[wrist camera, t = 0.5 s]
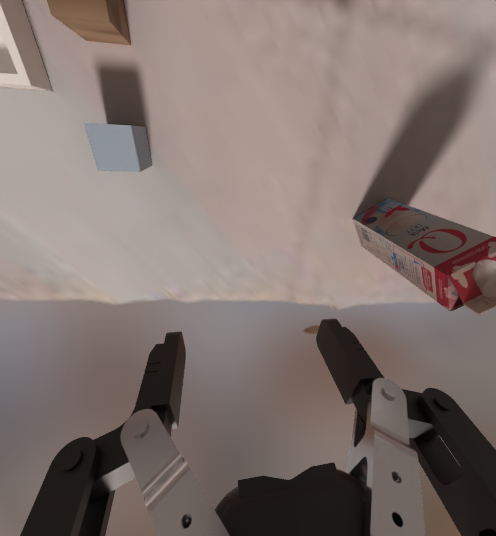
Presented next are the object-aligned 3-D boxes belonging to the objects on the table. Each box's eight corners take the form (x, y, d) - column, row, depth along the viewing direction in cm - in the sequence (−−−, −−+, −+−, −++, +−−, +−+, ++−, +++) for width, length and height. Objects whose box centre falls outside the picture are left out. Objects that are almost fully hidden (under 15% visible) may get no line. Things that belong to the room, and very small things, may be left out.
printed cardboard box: (352, 218, 39) (480, 295, 20) (387, 198, 38) (557, 259, 19) (361, 245, 42) (477, 332, 24) (393, 227, 41) (542, 303, 23)
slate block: (107, 124, 27) (83, 122, 22) (145, 126, 28) (130, 125, 22) (117, 164, 29) (98, 170, 24) (152, 165, 30) (140, 171, 25)
